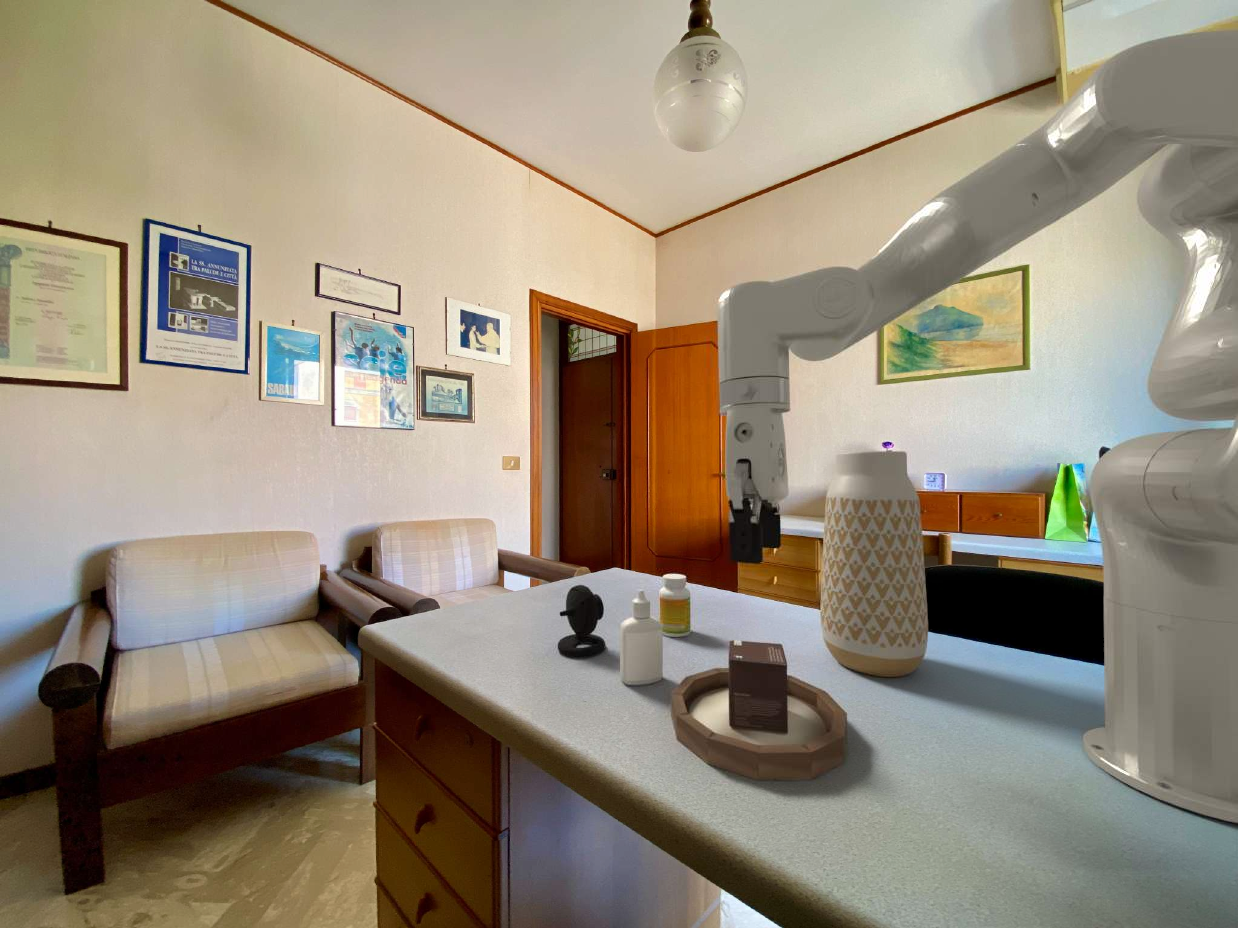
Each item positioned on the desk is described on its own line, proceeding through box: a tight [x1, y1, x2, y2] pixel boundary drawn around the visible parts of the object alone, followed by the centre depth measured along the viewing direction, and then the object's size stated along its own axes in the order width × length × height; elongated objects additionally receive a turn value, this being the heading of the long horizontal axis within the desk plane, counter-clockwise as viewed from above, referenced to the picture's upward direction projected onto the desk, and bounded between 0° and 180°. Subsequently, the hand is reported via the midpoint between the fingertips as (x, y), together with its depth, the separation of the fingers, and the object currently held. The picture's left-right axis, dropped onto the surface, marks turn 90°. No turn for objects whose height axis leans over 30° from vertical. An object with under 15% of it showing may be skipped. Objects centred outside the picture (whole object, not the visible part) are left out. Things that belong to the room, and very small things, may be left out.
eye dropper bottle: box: [619, 589, 664, 686], centre depth 63 cm, size 4×6×12 cm
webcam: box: [557, 584, 606, 659], centre depth 74 cm, size 8×8×10 cm
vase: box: [819, 450, 929, 678], centre depth 68 cm, size 14×14×31 cm
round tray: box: [670, 667, 848, 781], centre depth 52 cm, size 18×18×2 cm
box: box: [728, 640, 788, 734], centre depth 52 cm, size 6×6×7 cm
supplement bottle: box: [658, 573, 691, 638], centre depth 81 cm, size 5×5×10 cm
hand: (757, 554), depth 52 cm, fingers open, 9 cm apart
